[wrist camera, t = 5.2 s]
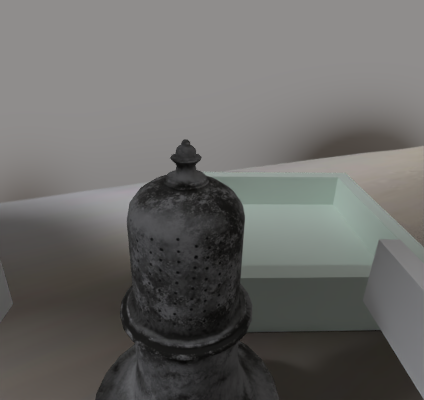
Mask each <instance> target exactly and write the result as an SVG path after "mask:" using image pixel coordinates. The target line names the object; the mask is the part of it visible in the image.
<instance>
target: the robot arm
mask: <svg viewBox="0 0 424 400" xmlns="http://www.w3.org/2000/svg"><path fill="white" fill-rule="evenodd" d="M363 302H364V304H365V305H366V307H367V308H368V310H369V312H370V313H371V315H372V317H373V318H374V320H375V321H376V323H377V325H378V326H379V328H380V330H381V331H382V333H383V334H384V336H385V338H386V339H387V341H388V342H389V344H390V346H391V347H392V349H393V351H394V352H395V354H396V355H397V357H398V359H399V360H400V362H401V364H402V365H403V367H404V368H405V370H406V372H407V373H408V375H409V377H410V378H411V380H412V381H413V383H414V385H415V386H416V388H417V390H418V391H419V393H420V394H421V396H422V398H423V399H424V263H423V262H422V261H421V260H420V259H419V258H418V257H417V256H416V255H415V254H414V253H413V252H412V251H411V250H410V249H409V248H408V247H407V246H406V245H405V244H404V243H403V242H402V241H401V240H400V239H379V241H378V245H377V249H376V252H375V256H374V260H373V263H372V267H371V271H370V275H369V278H368V282H367V286H366V290H365V293H364V297H363ZM12 305H13V302H12V298H11V295H10V291H9V287H8V284H7V280H6V277H5V273H4V270H3V266H2V263H1V259H0V323H1V321H2V320H3V318H4V317H5V315H6V314H7V312H8V311H9V309H10V308H11V306H12Z"/></svg>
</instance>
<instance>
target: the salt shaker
mask: <svg viewBox="0 0 424 400" xmlns="http://www.w3.org/2000/svg"><path fill="white" fill-rule="evenodd" d="M171 160H172V161H173V162H175V163H176V165H177V167H176V170H175V171H172V172H170V173H168V174H167V175H164V176H161V177H159V178H156V179H154V180H152V181H151V182H149V183H147V184H146V185H144V186H143V187H141V188H140V189H139V191H138V192H137V193H136V195H135V196H134V198H133V199H132V200H131V202H130V204H129V211H128V217H127V228H128V239H129V250H130V261H131V272H132V283H133V285H132V286H131V287H130V288H129V289H128V290H127V292H126V294H125V296H124V298H123V300H122V304H121V311H120V316H121V320H122V324H123V328H124V330H125V331H126V333H127V334H128V336H129V337H130V339H131V340H132V341H133V342H134V343H135V344H134V345H133V346H132V347H131V348H130V349H128V350H127V351H126V352H125V353H123V354H122V355H121V356H120V357H119V358H118V359H117V360H116V362H115V363H114V364H113V365H112V367H111V368H110V369H109V370H108V372H107V373H106V375H105V377H104V379H103V381H102V383H101V385H100V387H99V389H98V392H97V394H96V399H95V400H279V396H278V393H277V390H276V386H275V383H274V380H273V377H272V375H271V374H270V372H269V371H268V369H267V368H266V366H265V364H264V363H263V361H262V360H261V359H260V358H259V357H258V356H257V355H256V354H255V353H254V352H253V351H252V350H251V349H250V348H249V347H248V346H247V345H245V344H243V343H242V342H240V341H239V340H240V339H241V338H242V337H243V336H244V335H245V334H246V333H247V330H248V328H249V326H250V323H251V321H252V307H253V305H252V302H251V299H250V296H249V294H248V292H247V291H246V290H245V288H244V287H243V286H242V284H241V283H240V279H241V266H242V252H243V238H244V224H245V214H244V208H243V205H242V203H241V201H240V199H239V198H238V196H237V195H236V194H235V192H234V191H233V190H232V189H231V188H230V187H228V186H227V185H225V184H223V183H222V182H220V181H218V180H216V179H214V178H212V177H209V176H206V175H205V174H204V173H202V172H200V171H197V170H196V167H195V165H196V163H197V162H199V161H200V160H201V156H200V155H199V154H196V150H195V148H194V147H193V146H192V145H190V142H189V141H188V140H183V141H182V143H181V145H180V146H178V147H177V149H176V154H173V155H172V156H171Z"/></svg>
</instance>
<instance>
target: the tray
mask: <svg viewBox="0 0 424 400" xmlns="http://www.w3.org/2000/svg"><path fill="white" fill-rule="evenodd" d="M202 173H204V174H205V175H206V176H209V177H212V178H214V179H216V180H218V181H220V182H222V183H223V184H225V185H227V186H228V187H230V188H231V189H232V190H233V191H234V192H235V194H236V195H237V196H238V198H239V199H240V201H241V203H242V205H243V208H244V214H245V224H244V238H243V252H242V266H241V279H240V283H241V284H242V286H243V287H244V288H245V290H246V291H247V292H248V294H249V296H250V299H251V302H252V305H253V307H252V321H251V323H250V326H249V328H248V330H247V332H292V331H352V330H380V328H379V326H378V325H377V323H376V321H375V320H374V318H373V317H372V315H371V313H370V312H369V310H368V308H367V307H366V305H365V304H364V302H363V297H364V293H365V290H366V286H367V282H368V278H369V275H370V271H371V267H372V263H373V260H374V256H375V252H376V249H377V245H378V241H379V239H400V240H401V241H402V242H403V243H404V244H405V245H406V246H407V247H408V248H409V249H410V250H411V251H412V252H413V253H414V254H415V255H416V256H417V257H418V258H419V259H420V260H421V261H422V262H423V263H424V247H423V246H422V245H421V244H420V243H419V242H418V241H417V240H416V239H414V238H413V237H412V236H411V235H410V234H409V233H408V232H407V231H406V230H405V229H404V228H403V227H402V226H401V225H400V224H399V223H398V222H397V221H396V220H394V219H393V218H392V217H391V216H390V215H389V214H388V213H387V212H386V211H385V210H384V209H383V208H382V207H381V206H380V205H379V204H378V203H377V202H375V201H374V200H373V199H372V198H371V197H370V196H369V195H368V194H367V193H366V192H365V191H364V190H363V189H362V188H361V187H360V186H359V185H358V184H357V183H355V182H354V181H353V180H352V179H351V178H350V177H349V176H348V175H347V174H346V173H279V172H202Z"/></svg>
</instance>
